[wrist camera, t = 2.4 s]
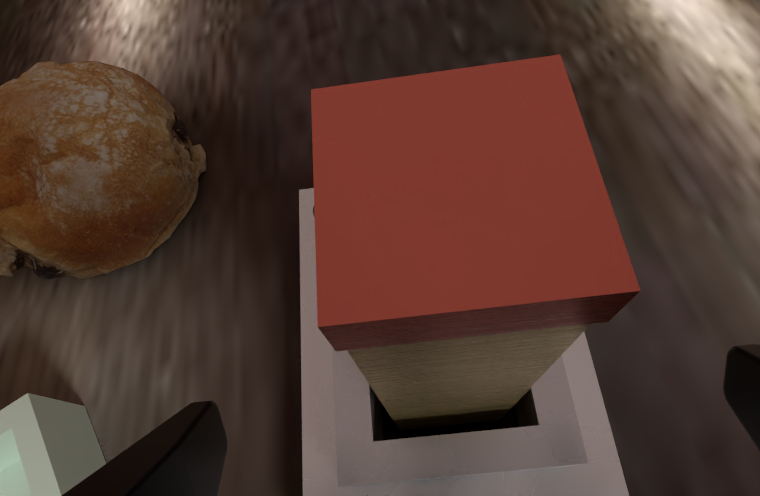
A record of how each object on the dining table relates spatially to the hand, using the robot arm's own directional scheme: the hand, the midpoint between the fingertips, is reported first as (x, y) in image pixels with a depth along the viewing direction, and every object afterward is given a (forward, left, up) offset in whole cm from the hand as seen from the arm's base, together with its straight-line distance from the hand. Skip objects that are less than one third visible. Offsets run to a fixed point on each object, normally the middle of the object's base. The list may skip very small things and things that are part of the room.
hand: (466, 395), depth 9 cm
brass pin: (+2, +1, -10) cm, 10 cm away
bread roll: (+1, +19, -10) cm, 22 cm away
